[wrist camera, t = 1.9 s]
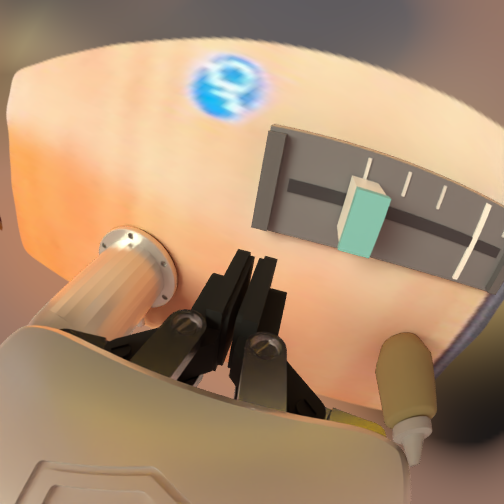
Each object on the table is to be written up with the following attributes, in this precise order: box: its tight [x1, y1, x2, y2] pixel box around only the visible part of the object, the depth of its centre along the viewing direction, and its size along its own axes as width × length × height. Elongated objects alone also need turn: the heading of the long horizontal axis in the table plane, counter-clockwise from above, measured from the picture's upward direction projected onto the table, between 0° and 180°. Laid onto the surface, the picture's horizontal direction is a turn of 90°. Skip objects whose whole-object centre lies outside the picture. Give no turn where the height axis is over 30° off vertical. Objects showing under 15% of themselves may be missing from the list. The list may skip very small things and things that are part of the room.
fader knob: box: [337, 175, 391, 258], centre depth 22 cm, size 5×3×4 cm, turn 170°
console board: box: [251, 124, 504, 295], centre depth 24 cm, size 10×30×3 cm, turn 80°
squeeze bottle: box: [375, 333, 437, 466], centre depth 27 cm, size 8×8×18 cm
